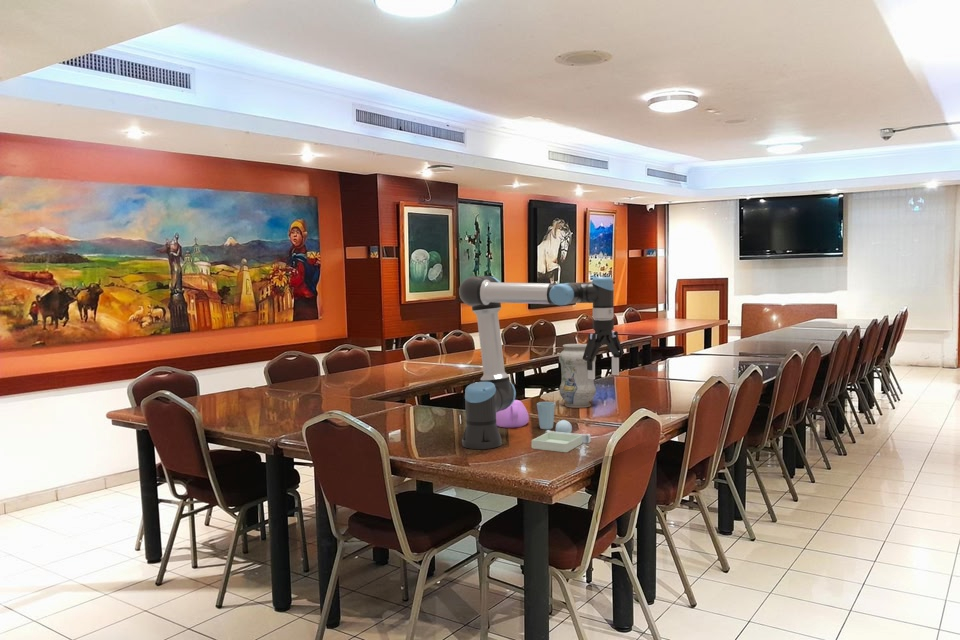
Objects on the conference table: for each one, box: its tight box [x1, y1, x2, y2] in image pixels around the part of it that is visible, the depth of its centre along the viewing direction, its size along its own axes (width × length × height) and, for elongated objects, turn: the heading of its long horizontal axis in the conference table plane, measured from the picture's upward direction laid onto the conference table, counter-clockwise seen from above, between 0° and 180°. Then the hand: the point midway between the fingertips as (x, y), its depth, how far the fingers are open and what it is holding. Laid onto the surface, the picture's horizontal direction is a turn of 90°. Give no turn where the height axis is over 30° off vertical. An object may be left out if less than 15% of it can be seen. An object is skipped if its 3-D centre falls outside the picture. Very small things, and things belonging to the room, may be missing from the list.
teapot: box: [496, 399, 530, 429], centre depth 299 cm, size 22×16×12 cm
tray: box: [530, 432, 583, 453], centre depth 259 cm, size 14×14×3 cm
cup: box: [536, 401, 556, 430], centre depth 290 cm, size 8×8×10 cm
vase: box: [558, 343, 597, 409], centre depth 335 cm, size 18×18×30 cm
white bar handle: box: [544, 429, 591, 444], centre depth 267 cm, size 18×2×3 cm, turn 59°
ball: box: [555, 419, 573, 433], centre depth 274 cm, size 6×6×6 cm
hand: (603, 377), depth 253 cm, fingers open, 13 cm apart
